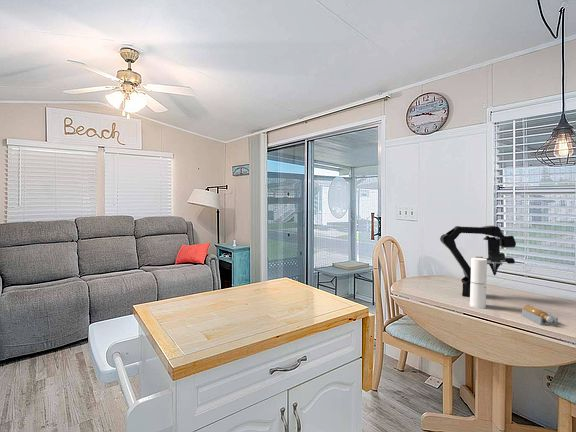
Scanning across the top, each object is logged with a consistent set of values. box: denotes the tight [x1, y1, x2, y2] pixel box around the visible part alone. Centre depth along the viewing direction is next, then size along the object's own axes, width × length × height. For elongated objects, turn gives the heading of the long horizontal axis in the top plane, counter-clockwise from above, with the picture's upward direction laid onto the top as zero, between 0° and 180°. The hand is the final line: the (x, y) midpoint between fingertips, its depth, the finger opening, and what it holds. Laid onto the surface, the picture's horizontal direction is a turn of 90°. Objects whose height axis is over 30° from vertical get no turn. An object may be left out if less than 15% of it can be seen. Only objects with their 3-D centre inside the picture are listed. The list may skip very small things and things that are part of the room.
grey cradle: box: [521, 308, 559, 326], centre depth 150 cm, size 11×8×3 cm
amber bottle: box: [522, 304, 553, 323], centre depth 150 cm, size 4×4×14 cm
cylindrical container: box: [469, 257, 488, 309], centre depth 169 cm, size 7×7×25 cm
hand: (494, 275), depth 185 cm, fingers closed
